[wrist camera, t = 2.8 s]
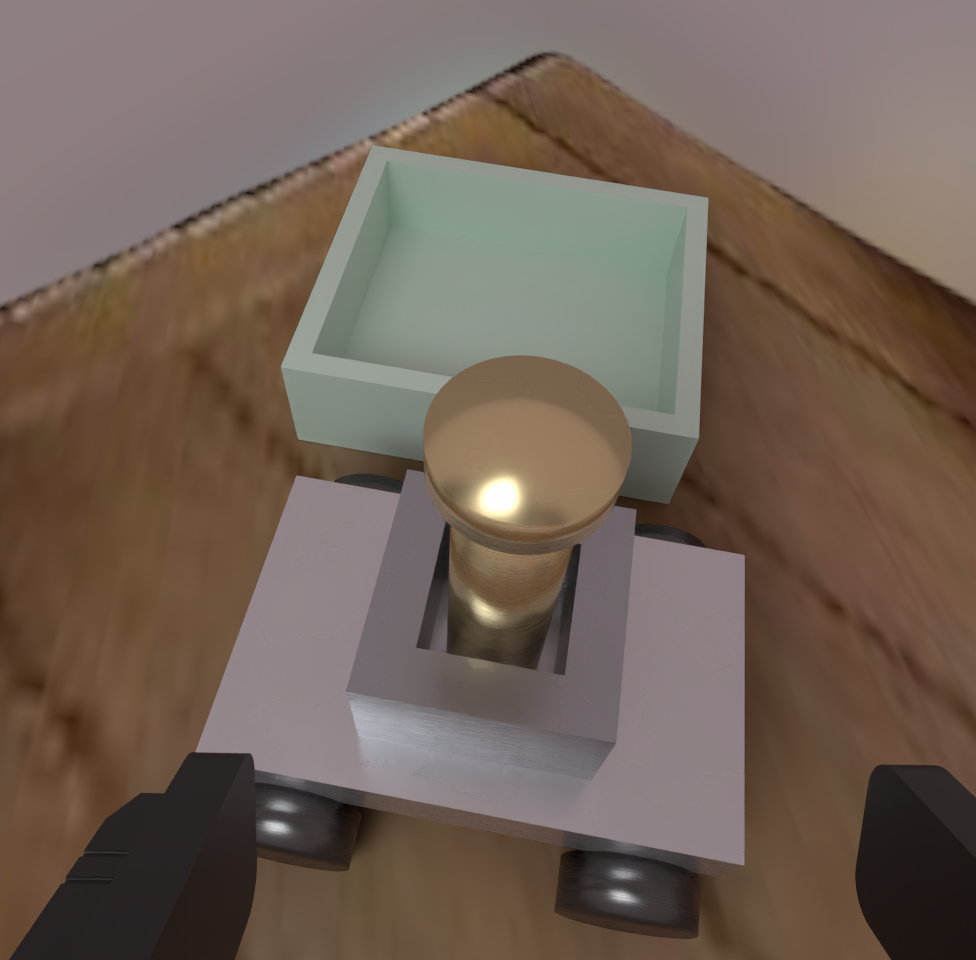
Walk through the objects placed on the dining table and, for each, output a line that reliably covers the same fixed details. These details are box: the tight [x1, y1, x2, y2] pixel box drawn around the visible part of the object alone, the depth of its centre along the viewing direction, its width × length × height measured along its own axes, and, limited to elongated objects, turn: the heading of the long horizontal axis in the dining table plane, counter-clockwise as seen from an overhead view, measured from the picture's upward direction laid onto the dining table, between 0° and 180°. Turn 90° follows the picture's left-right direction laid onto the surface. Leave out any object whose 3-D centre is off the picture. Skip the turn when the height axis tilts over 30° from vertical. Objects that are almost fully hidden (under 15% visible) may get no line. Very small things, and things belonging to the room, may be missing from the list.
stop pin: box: [423, 355, 632, 670], centre depth 21 cm, size 4×4×12 cm
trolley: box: [196, 469, 745, 939], centre depth 27 cm, size 16×13×10 cm
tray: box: [281, 145, 708, 504], centre depth 39 cm, size 17×15×5 cm
